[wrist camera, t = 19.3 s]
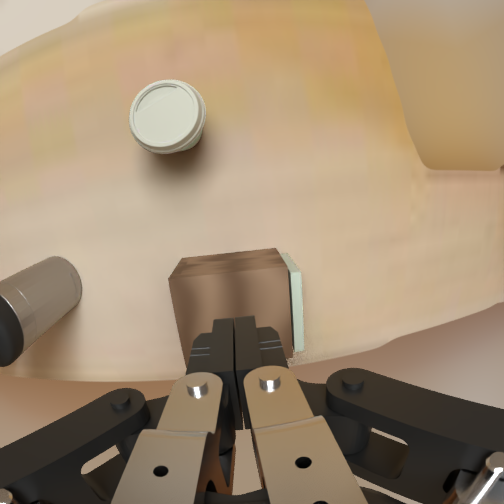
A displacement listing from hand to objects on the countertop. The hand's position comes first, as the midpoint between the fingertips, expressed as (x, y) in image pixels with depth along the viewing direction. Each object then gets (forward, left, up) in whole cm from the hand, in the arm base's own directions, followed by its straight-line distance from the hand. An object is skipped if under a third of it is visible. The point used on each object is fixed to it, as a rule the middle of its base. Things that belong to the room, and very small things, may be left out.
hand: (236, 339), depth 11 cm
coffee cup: (-6, +14, -33) cm, 37 cm away
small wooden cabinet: (-1, -10, -33) cm, 34 cm away
